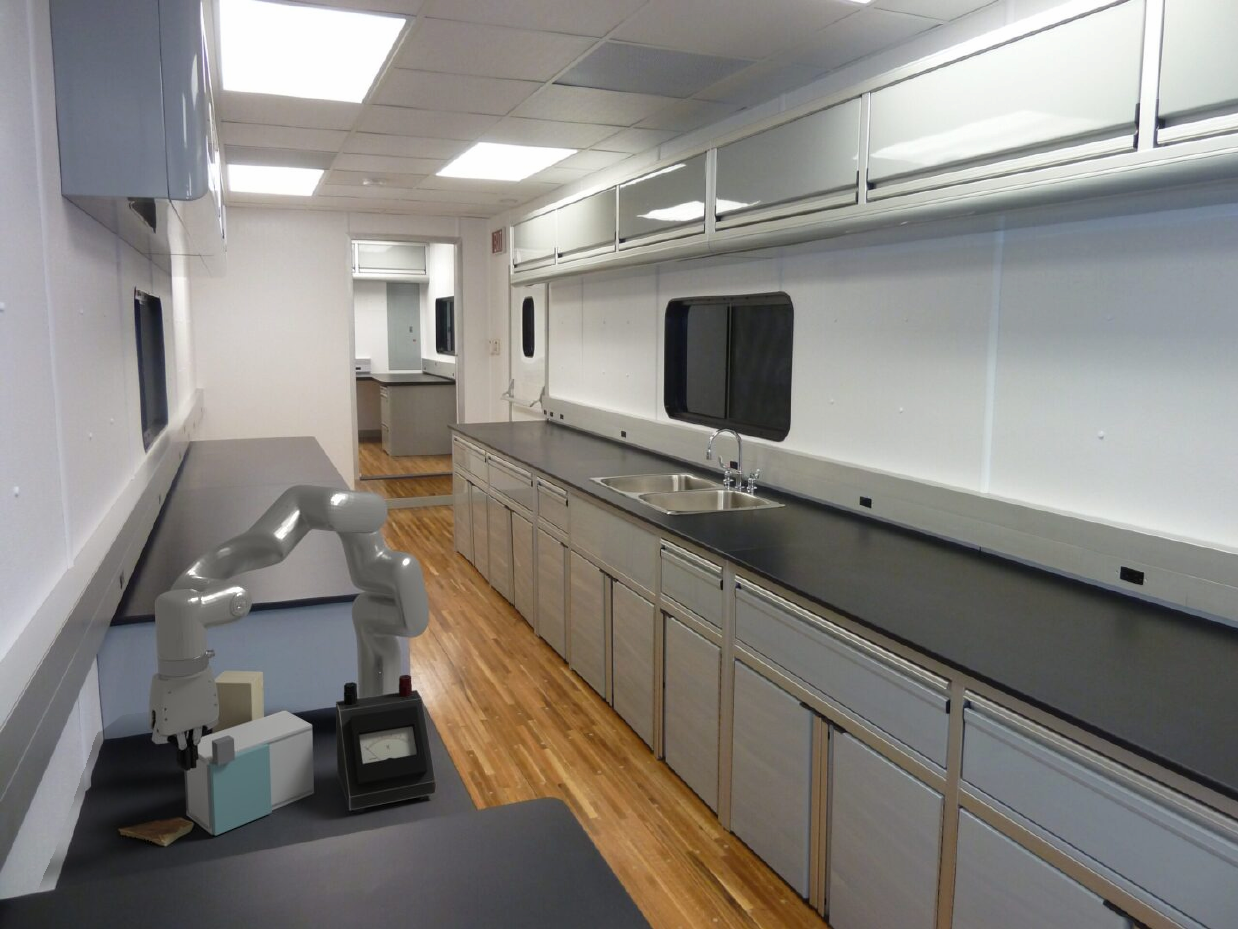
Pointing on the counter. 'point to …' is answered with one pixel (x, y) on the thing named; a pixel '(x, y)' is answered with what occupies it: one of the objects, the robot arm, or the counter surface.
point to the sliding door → (238, 784)
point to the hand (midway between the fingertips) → (187, 766)
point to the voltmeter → (383, 747)
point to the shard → (159, 830)
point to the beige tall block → (239, 698)
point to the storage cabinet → (286, 762)
